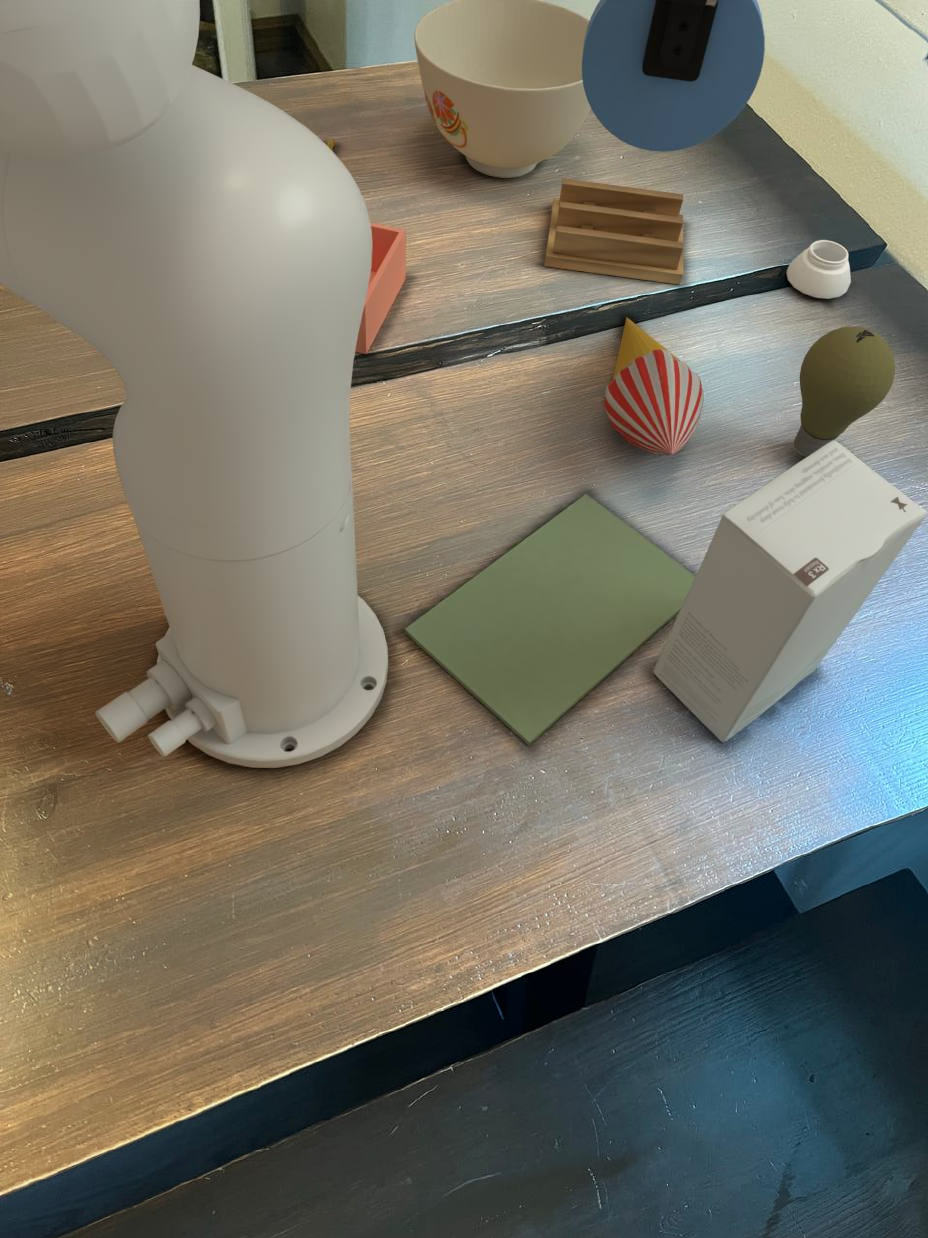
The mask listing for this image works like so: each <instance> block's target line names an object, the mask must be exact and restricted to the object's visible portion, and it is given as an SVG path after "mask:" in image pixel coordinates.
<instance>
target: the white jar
mask: <svg viewBox="0 0 928 1238" xmlns="http://www.w3.org/2000/svg"><path fill="white" fill-rule="evenodd" d="M786 278H787V281H788V282H789V283H790V285H791V286H792V287H793V288H795V289H796V290H798V291H799V292H800V293H802V294H804V295H808V296H809V297H813V298H817V299H828V300H829V299H835V298H840V297H842V296H843V295H845V294H846V293H848V289H849V288H850V286H851V283H852V279H851V278H852V277H851V265H850V261H849V251H848V250H847V249H846V247H844V246H843V245H841V244H840V243H837V242H835V241H832V240H827V239H819V240H816V241H814V242H812V243H811V244H810V245H809V247H807V248H806V249H804V250H803V251H802V252H800V253H799V254H798V255H797V256H796V257H795V258H793V260H791V261H790V263H789V265H788V267H787V269H786Z"/></svg>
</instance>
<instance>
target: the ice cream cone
mask: <svg viewBox="0 0 928 1238" xmlns="http://www.w3.org/2000/svg"><path fill="white" fill-rule="evenodd" d="M704 393H705V392H704V390H703V387H702V380H701V378H700V376H699V375H698V374H697V372H695V371H693V370H691V368H690V367H689V365H688V363H686V362H685V361H683V360H681V359H680V358H678V357H677V356H676V355H675V354H673V353H672V352H671V351H669V350H668V349H667V348H666V347H665V346H663V345H662V344H661V343H660V342H658V341H657V340H656V339H655V338H653V337H652V336H651V335H650V334H648V333H647V332H646V331H645V330H643V329H642V328H641V327H639V326H638V324H636V323H635V322H634V321H632V320H631V319H630V318H628V317H627V316H626V318H625V323H624V326H623V331H622V336H621V340H620V345H619V350H618V354H617V358H616V363H615V367H614V372H613V377H612V380H611V382H609V383H608V385H607V386H606V388H605V392H604V397H603V406H604V409H605V411H606V414H607V418H608V421H609V423H610V425H611V426H612V427H613V428H614V429H615V430H616V431H617V432H618V433H619V434H621V435H622V437H623V438H624V439H625V440H626V441H627V442H629V443H630V444H631V445H633V446H635V448H638V449H641V450H643V451H645V452H648V453H651V454H654V455H657V456H672V455H675V454H676V453H678V452H680V451H681V450H682V449H683V448H684V447H685V446H686V445H687V443H689V440H690V439H691V438H692V436H693V435H694V433H695V432H696V430H697V428H698V425H699V424H700V419H701V414H702V410H703V408H704V401H705V394H704Z"/></svg>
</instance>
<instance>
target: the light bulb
mask: <svg viewBox="0 0 928 1238" xmlns="http://www.w3.org/2000/svg"><path fill="white" fill-rule="evenodd" d="M895 374H896V361H895V356H894V353H893V351H892V349H891V347H890V345H889V343H888V342H887V341H886V339H884V338H883V337H882V336H881V335H880V334H878V333H877V332H875V331H873V330H871V329H869V328H865V327H863V326H844V327H842V326H841V327H839V328H836V329H833V330H831V331H829V332H826V333H825V334H824V335H822V336H821V337H819V338H818V339H817V340H816V341H815V342H814V343H812V345H811V346H810V347H809V349H808V351H807V352H806V354H805V355H804V358H803V360H802V363H801V366H800V371H799V390H800V395H801V410H800V427H799V429H798V431H797V432H796V435H795V437H794V440H793V447H794V449H795V451H796V452H797V453H798V454H799V455H801V457H803V458H804V459H805V458H806V457H808V456H809V455H811V454H812V453H814V452H816V451H817V450H818V449H820V448H821V447H823V446H824V445H826V444H827V443H829V442H831V441H833V440H834V441H836V439H837V438H839V437H840V435H842V434H843V433H845V431H846V430H847V429H848V428H849V427H850V426H851V425H852V424H853V423H854V422H856V421H858V420H859V419H860V418H862V417H864V416H866V415H867V414H869V413H870V412H872V411H873V410H874V409H876V408H877V407H878V406H879V405H880V404H881V403H882V401H884V399H886V397H887V395H888V393H889V392H890V391H891V388H892V386H893V383H894V379H895V376H896V375H895Z"/></svg>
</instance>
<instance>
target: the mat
mask: <svg viewBox="0 0 928 1238" xmlns="http://www.w3.org/2000/svg"><path fill="white" fill-rule="evenodd" d="M695 576H696V575H694V574H693V573H692V572H691V571H689V570H687V568H685V567H683V566H682V565H681V564H680V563H679V562H677V561H676V560H675V559H673V558H672V557H671V556H670V555H668V554H666V553H665V552H664V551H663V550H661V549H660V548H659V547H658V546H656V545H655V544H653V543H652V542H651V541H649V540H648V539H647V538H645V537H644V536H642V535H641V534H640V533H639V532H637V531H636V530H634V529H633V528H632V527H630V526H629V525H628V524H627V523H625V522H624V521H623V520H622V519H620V518H618V517H617V516H616V515H615V514H613V513H612V512H611V511H609V509H607V508H605V506H603V505H601V504H600V503H599V502H597V501H596V500H595V499H593V498H592V497H591V496H589V495H588V494H587V493H585V494H584V495H582V496H581V497H579V498H578V499H577V500H576V501H574V502H573V503H571V504H570V505H569V506H567V507H566V508H565V509H563V510H562V511H561V512H559V513H558V514H557V515H556V516H554V517H553V518H552V519H550V520H548V521H547V522H546V523H545V524H543V525H542V526H541V527H539V528H538V529H536V530H535V531H534V532H533V533H530V534H529V535H528V536H527V537H525V538H524V539H523V540H522V541H520V542H519V543H518V544H516V545H515V546H514V547H513V548H511V549H510V550H507V552H506V553H504V554H503V555H501V557H499V558H498V559H496V560H495V561H494V562H492V563H491V564H489V565H487V567H485V568H484V569H482V570H481V571H480V572H478V573H477V574H476V575H475V576H473V577H471V579H470V580H468V581H467V582H466V583H464V584H462V586H460V587H459V588H457V589H456V590H454V591H453V592H452V593H451V594H449V595H448V596H447V597H445V598H444V599H443V600H442V601H439V603H437V604H436V605H435V606H433V607H432V608H431V609H429V610H428V611H427V612H425V613H424V614H422V615H421V616H420V617H418V618H417V619H416V620H414V621H413V622H412V623H410V624H409V625H408V626H406V627H404V634H405V635H406V636H407V637H409V638H410V639H411V640H412V641H413V642H415V644H416V645H417V646H418V647H419V648H421V649H422V650H423V651H424V652H425V653H426V654H427V655H428V656H430V657H431V658H432V659H433V660H434V662H436V663H437V664H438V665H439V666H440V667H442V668H443V669H444V671H446V672H447V673H448V674H449V675H450V676H452V678H454V679H455V680H456V681H457V682H458V683H459V684H460V685H461V686H462V687H464V688H465V689H466V690H467V691H468V692H469V693H470V694H472V696H473V697H474V698H476V699H477V701H479V702H480V703H481V704H482V705H483V706H485V708H487V710H489V711H490V712H491V713H492V714H493V715H494V716H495V717H497V718H498V719H499V720H500V721H501V722H502V723H503V724H504V725H505V726H506V727H508V729H510V731H512V732H513V733H514V734H515V735H516V736H517V737H518V738H519V739H520V740H522V741H523V742H524V743H525V744H526V745H527V746H530V745H531V744H532V743H534V742H535V741H536V740H537V739H538V738H539V737H540V736H541V735H542V734H544V733H545V732H546V731H547V730H548V729H549V728H550V727H552V725H554V724H555V723H556V722H557V721H558V720H559V719H560V718H562V716H564V715H565V714H566V713H567V712H568V711H570V710H571V709H572V708H573V707H574V706H575V705H576V704H577V703H578V702H580V701H581V700H582V699H583V698H584V697H585V696H586V695H588V694H589V693H590V692H591V691H593V689H594V688H595V687H597V686H598V685H599V684H600V683H601V682H602V681H603V680H604V679H605V678H607V677H608V676H609V675H610V674H611V673H613V671H615V670H616V669H617V668H618V667H619V666H620V665H622V663H624V662H625V661H626V660H627V659H628V658H629V657H630V656H631V655H633V654H634V653H635V652H636V651H637V650H639V648H641V647H642V646H643V645H644V644H645V643H646V642H647V641H648V640H650V639H651V638H652V637H653V636H654V635H655V634H657V632H659V631H660V630H662V628H663V627H665V625H667V623H669V622H670V621H671V620H672V619H673V618H674V617H676V615H677V616H678V614H679V612H680V610H681V607H682V605H683V603H684V600H685V598H686V596H687V594H688V592H689V589H690V587H691V585H692V583H693V581H694V578H695Z"/></svg>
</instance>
